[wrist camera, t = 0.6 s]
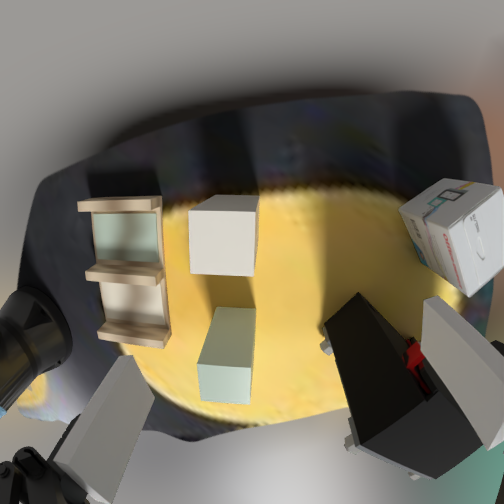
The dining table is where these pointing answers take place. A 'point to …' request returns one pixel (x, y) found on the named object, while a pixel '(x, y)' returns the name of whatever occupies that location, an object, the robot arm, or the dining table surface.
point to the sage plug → (228, 356)
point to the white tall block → (224, 235)
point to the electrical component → (395, 395)
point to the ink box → (458, 231)
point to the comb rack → (130, 268)
